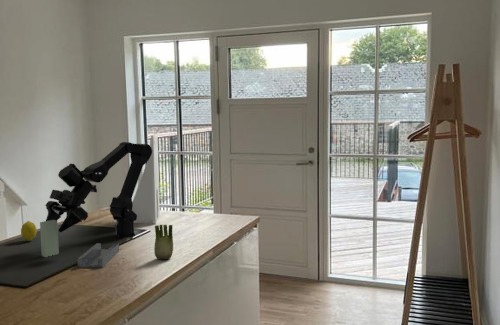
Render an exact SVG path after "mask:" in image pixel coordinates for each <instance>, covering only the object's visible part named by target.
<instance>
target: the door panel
mask: <svg viewBox="0 0 500 325" xmlns="http://www.w3.org/2000/svg"><path fill="white" fill-rule="evenodd" d="M39 227H40V228H39V230H40V245H41V246H40V248H41V249H40V250H41V252H40V253H41V257H44V258H49V257H51V256H52V255H53V256H56V255H59V254H60V250H59V249H60V247H59V231H58V230H59V228H58V227H59V226H58V220H49V221H46V220H45V221H40V222H39ZM48 256H49V257H48Z"/></svg>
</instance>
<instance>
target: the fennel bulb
mask: <svg viewBox="0 0 500 325" xmlns="http://www.w3.org/2000/svg"><path fill="white" fill-rule="evenodd" d="M154 232H155V241H154V247H153V248H154V256H155V258H156V259H158V260H168V259H171V258H172V255H173V252H174V239H173V238H174V236H173V224H156V225H154Z"/></svg>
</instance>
